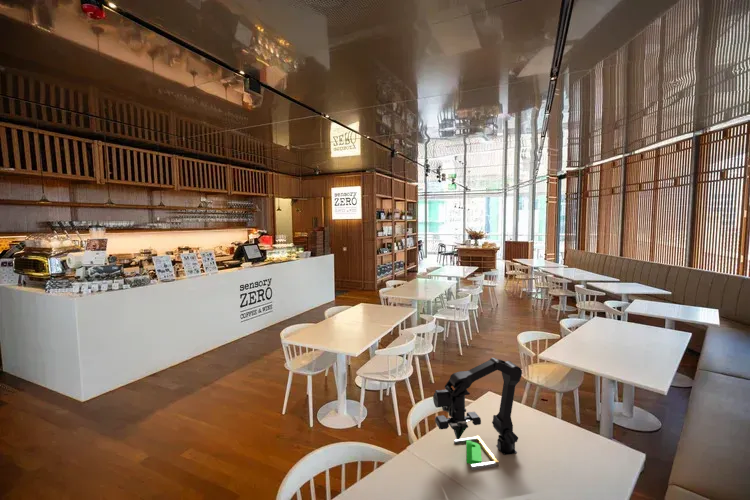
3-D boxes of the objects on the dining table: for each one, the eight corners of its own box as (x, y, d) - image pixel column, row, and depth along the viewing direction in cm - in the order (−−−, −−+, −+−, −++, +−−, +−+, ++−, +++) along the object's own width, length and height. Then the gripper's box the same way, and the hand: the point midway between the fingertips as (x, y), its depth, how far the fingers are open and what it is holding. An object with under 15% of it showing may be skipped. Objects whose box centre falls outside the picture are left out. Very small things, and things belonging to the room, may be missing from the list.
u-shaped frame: (478, 439, 154) (478, 435, 154) (498, 465, 137) (498, 461, 137) (454, 442, 152) (454, 439, 152) (471, 470, 135) (471, 465, 135)
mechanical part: (481, 466, 137) (482, 447, 137) (466, 463, 139) (467, 445, 138) (480, 447, 149) (480, 430, 148) (466, 445, 150) (466, 428, 150)
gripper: (469, 392, 151) (469, 425, 152) (430, 396, 147) (430, 430, 149) (481, 405, 140) (481, 440, 141) (440, 410, 137) (439, 446, 138)
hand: (457, 439), depth 142 cm, fingers closed
